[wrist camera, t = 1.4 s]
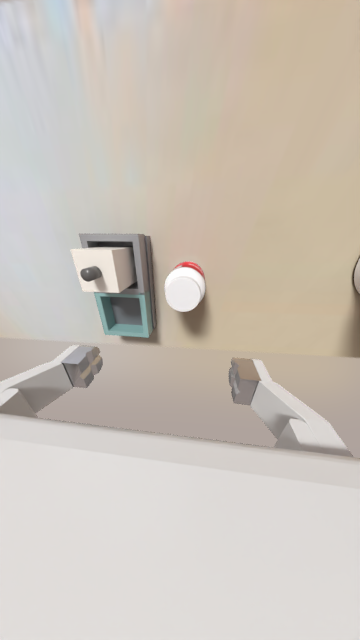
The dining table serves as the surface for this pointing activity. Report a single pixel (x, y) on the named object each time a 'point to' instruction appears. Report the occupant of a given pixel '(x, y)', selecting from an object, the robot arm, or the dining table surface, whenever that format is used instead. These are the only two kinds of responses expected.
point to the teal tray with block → (119, 281)
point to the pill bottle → (185, 286)
